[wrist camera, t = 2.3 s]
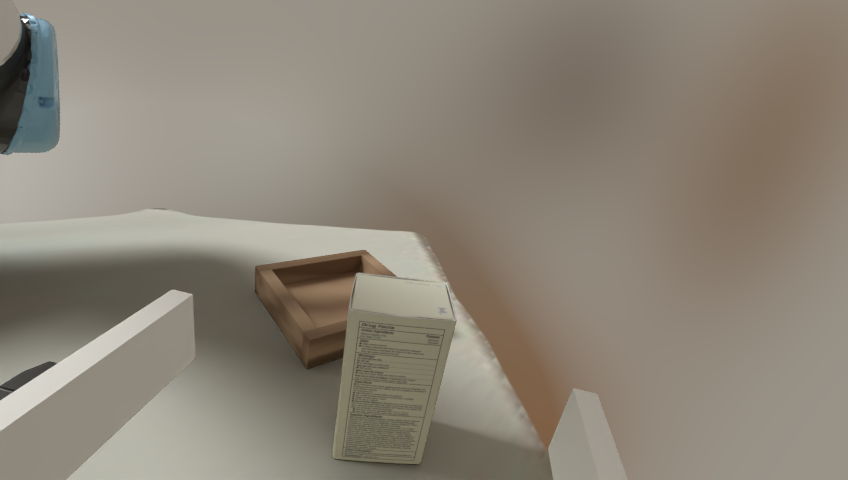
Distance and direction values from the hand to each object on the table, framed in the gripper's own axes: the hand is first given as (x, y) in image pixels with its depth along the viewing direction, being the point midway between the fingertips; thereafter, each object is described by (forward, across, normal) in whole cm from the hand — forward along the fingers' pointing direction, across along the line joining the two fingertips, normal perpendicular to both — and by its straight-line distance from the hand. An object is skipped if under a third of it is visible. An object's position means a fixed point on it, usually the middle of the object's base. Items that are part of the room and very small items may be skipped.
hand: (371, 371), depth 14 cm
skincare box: (+10, 0, -15) cm, 18 cm away
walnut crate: (+24, -8, -15) cm, 29 cm away
